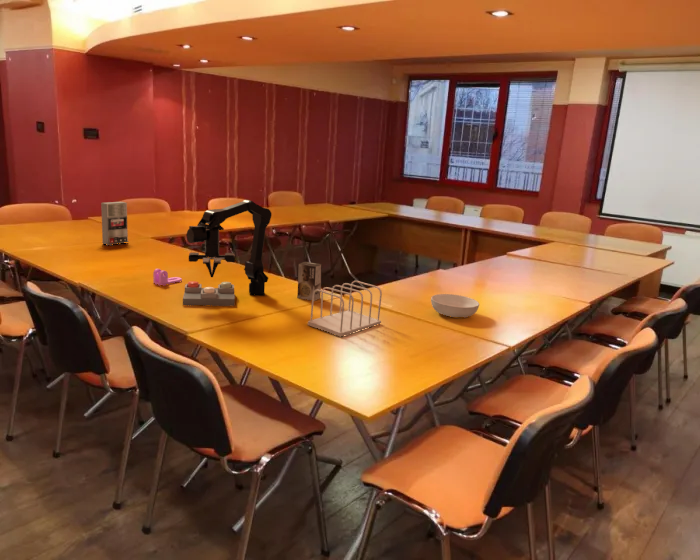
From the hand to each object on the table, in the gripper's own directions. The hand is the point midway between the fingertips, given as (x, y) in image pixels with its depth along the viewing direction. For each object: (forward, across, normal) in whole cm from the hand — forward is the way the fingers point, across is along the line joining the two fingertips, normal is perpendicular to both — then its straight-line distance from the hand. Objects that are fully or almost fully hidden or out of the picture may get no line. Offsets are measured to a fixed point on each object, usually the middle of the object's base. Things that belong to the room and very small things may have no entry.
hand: (211, 277), depth 238 cm
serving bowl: (+12, -104, +18) cm, 106 cm away
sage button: (+8, -6, -7) cm, 12 cm away
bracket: (+11, +20, -31) cm, 38 cm away
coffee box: (+12, -43, -6) cm, 45 cm away
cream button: (+7, +1, +2) cm, 8 cm away
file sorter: (+12, -52, +31) cm, 62 cm away
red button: (+7, +8, -7) cm, 13 cm away
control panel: (+11, +1, -2) cm, 11 cm away
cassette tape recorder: (+11, +58, -119) cm, 133 cm away
